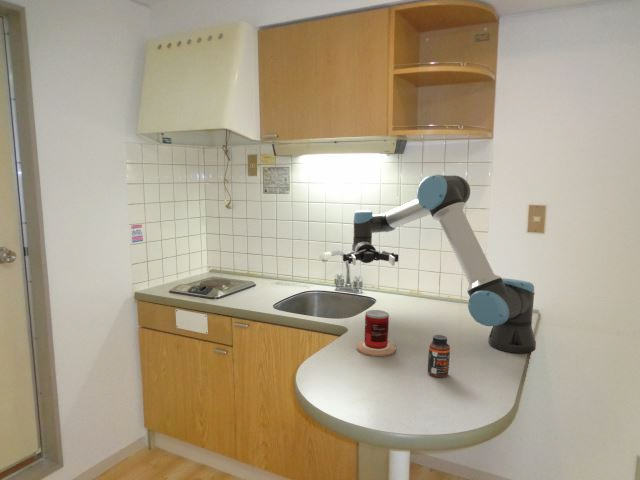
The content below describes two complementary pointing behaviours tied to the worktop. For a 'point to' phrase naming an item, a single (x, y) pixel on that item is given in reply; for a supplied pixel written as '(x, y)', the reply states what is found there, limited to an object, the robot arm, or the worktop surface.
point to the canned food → (376, 329)
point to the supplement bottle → (439, 356)
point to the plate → (376, 352)
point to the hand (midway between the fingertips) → (374, 261)
